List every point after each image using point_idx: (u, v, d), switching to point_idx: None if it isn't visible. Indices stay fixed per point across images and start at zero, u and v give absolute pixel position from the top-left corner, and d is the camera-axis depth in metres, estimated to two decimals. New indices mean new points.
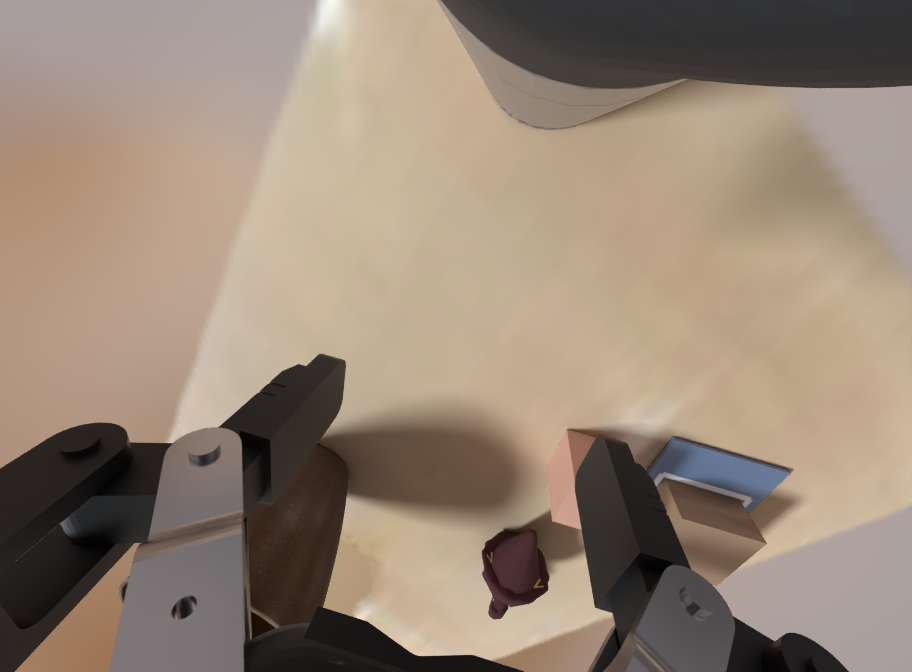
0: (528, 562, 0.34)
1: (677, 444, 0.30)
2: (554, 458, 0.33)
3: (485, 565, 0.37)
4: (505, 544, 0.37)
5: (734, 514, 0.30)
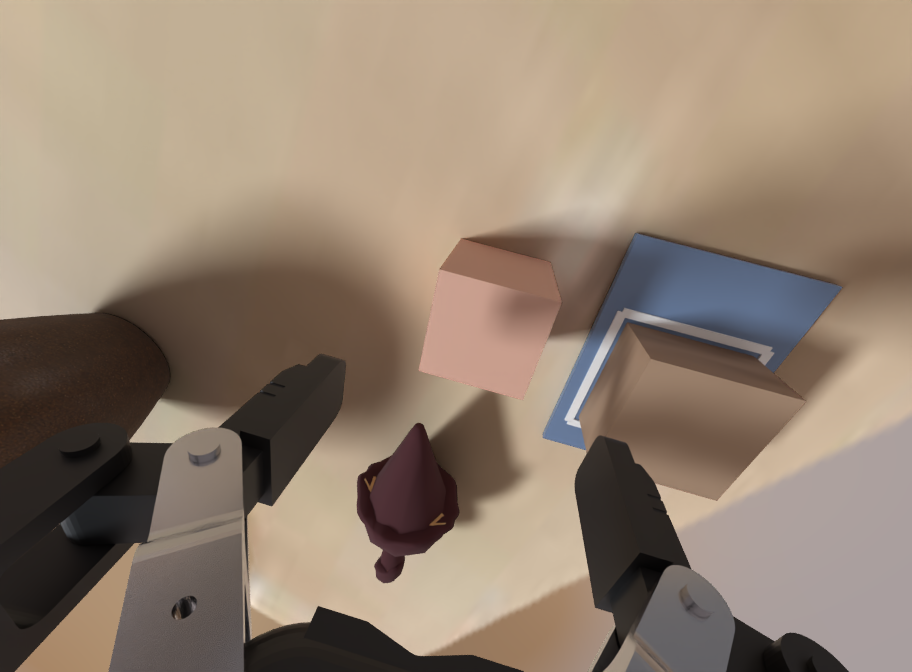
0: (415, 479, 0.21)
1: (643, 244, 0.17)
2: None
3: (359, 493, 0.24)
4: (389, 459, 0.24)
5: (744, 367, 0.17)
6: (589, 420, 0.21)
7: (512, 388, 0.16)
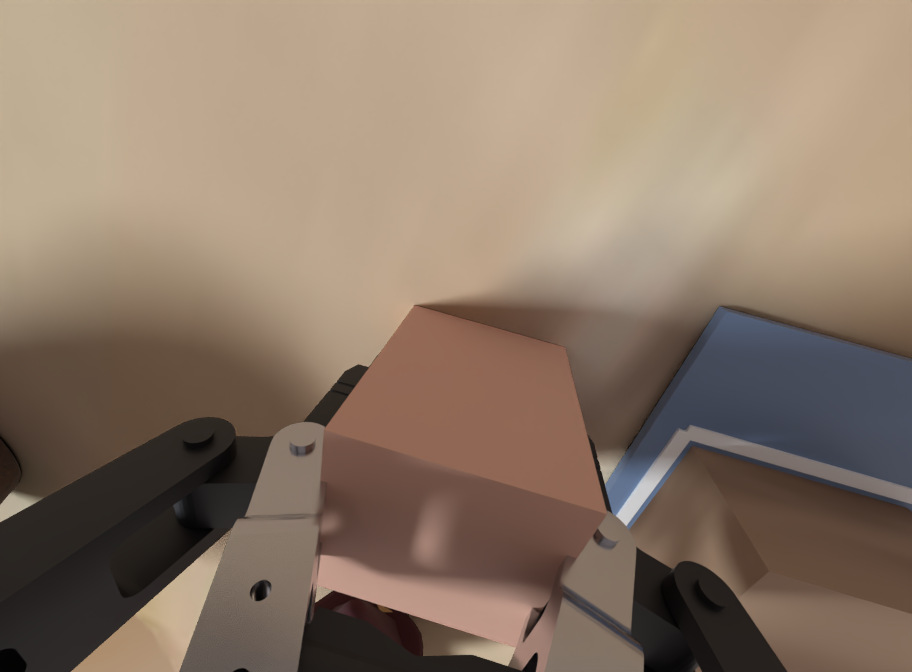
0: None
1: (735, 328, 0.10)
2: None
3: None
4: None
5: None
6: None
7: (496, 629, 0.08)
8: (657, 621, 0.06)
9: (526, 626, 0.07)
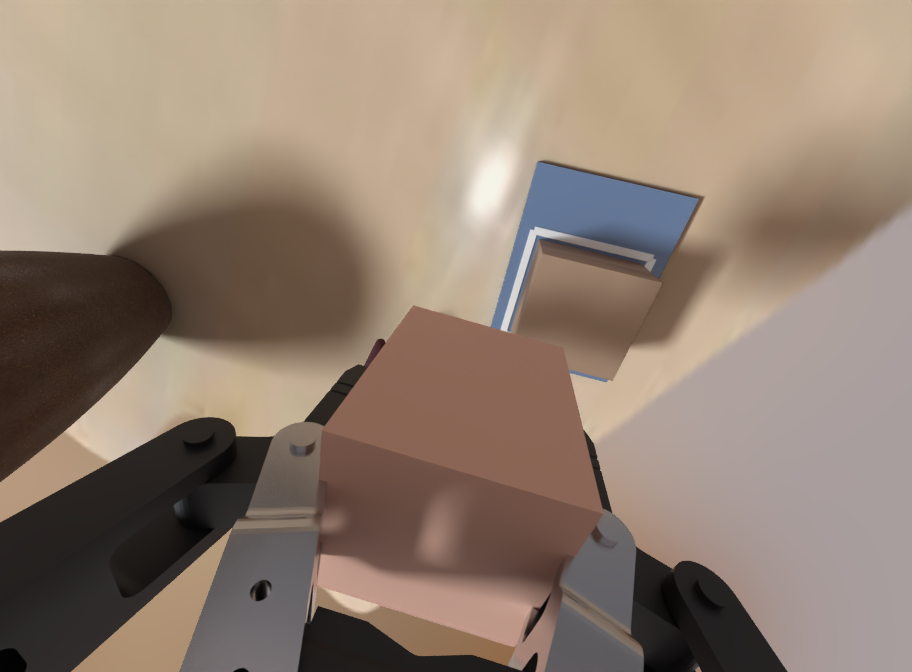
0: None
1: (543, 169, 0.22)
2: None
3: None
4: None
5: (625, 266, 0.22)
6: (514, 325, 0.25)
7: (494, 629, 0.08)
8: (657, 621, 0.06)
9: (526, 626, 0.07)
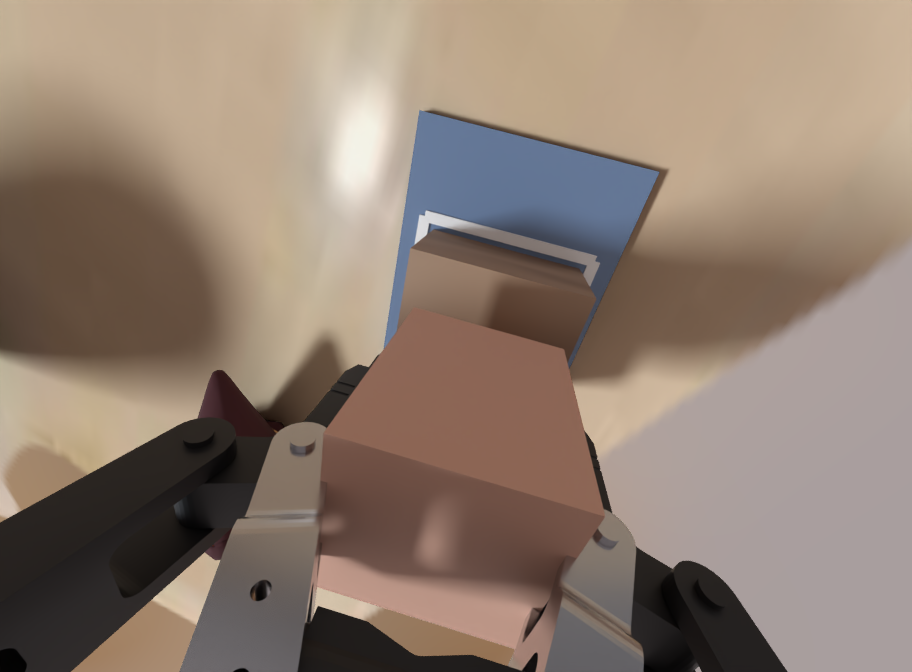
0: None
1: (428, 123, 0.15)
2: None
3: None
4: None
5: (549, 271, 0.15)
6: None
7: (495, 631, 0.08)
8: (657, 621, 0.06)
9: (526, 626, 0.07)
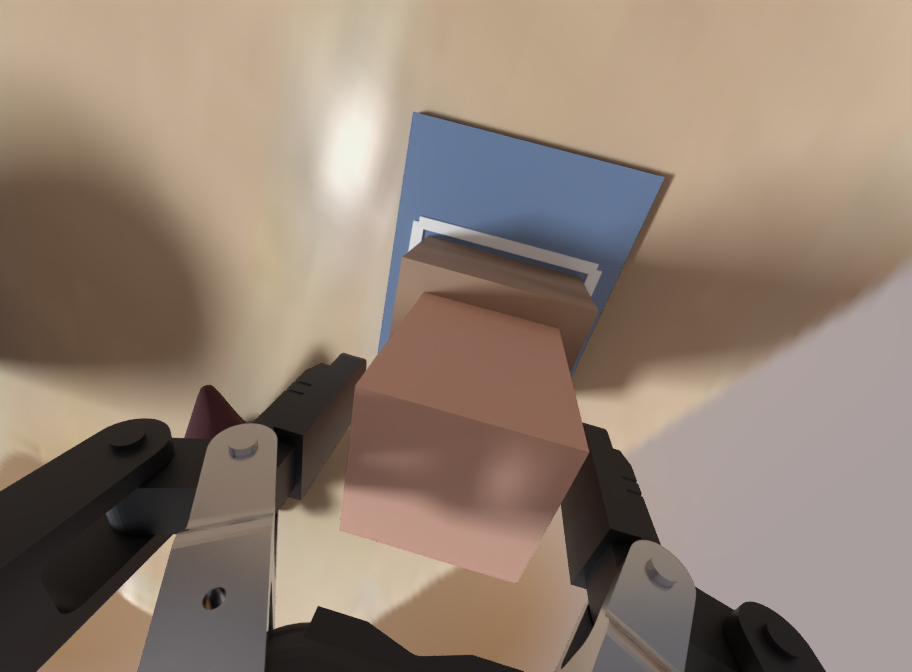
0: None
1: (422, 125, 0.14)
2: None
3: None
4: None
5: (548, 280, 0.14)
6: None
7: (499, 567, 0.09)
8: (722, 669, 0.06)
9: (566, 654, 0.07)
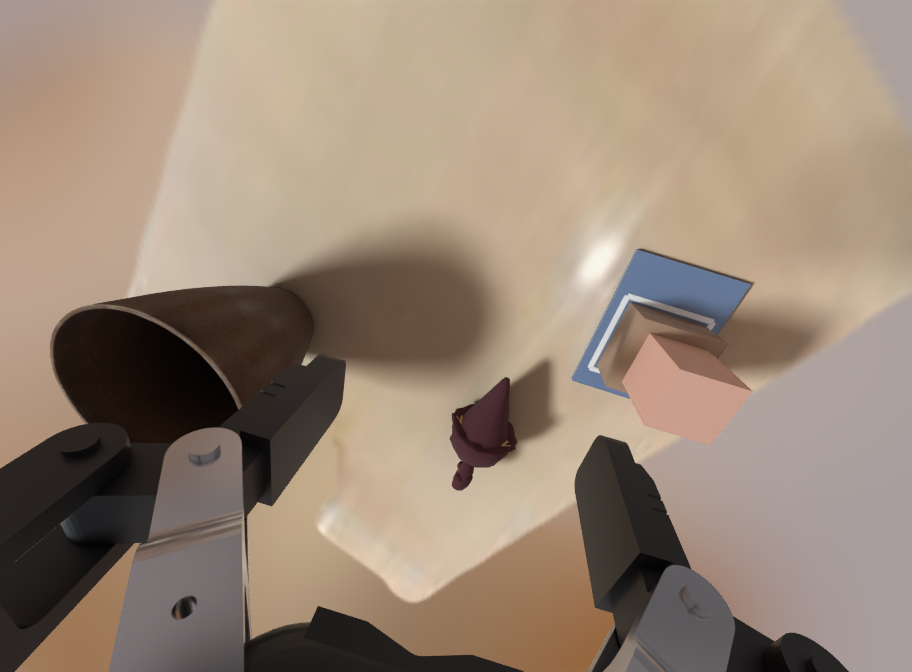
0: (499, 413, 0.34)
1: (641, 255, 0.30)
2: (633, 369, 0.30)
3: (454, 424, 0.36)
4: (476, 403, 0.36)
5: (697, 328, 0.30)
6: (604, 364, 0.33)
7: (705, 438, 0.26)
8: None
9: None
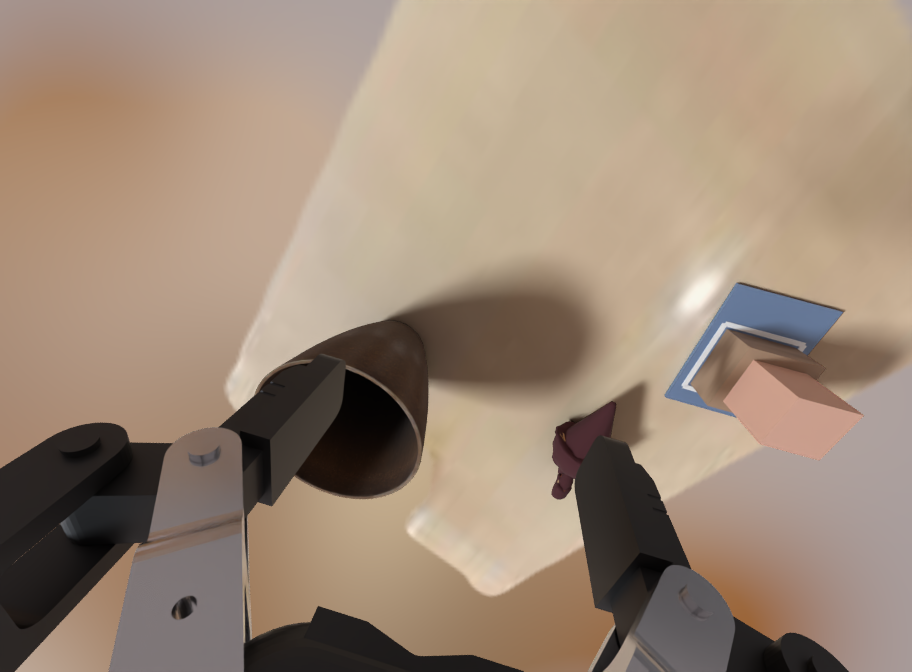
0: (605, 432, 0.38)
1: (741, 289, 0.34)
2: (737, 391, 0.34)
3: (559, 441, 0.41)
4: (579, 422, 0.41)
5: (793, 352, 0.34)
6: (701, 384, 0.37)
7: (815, 454, 0.29)
8: None
9: None
